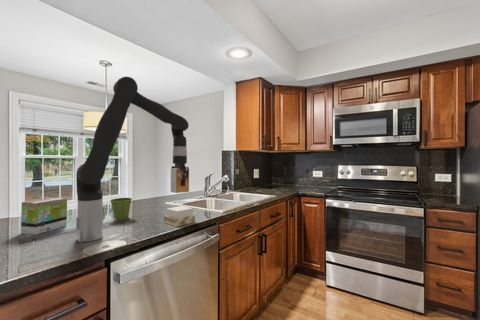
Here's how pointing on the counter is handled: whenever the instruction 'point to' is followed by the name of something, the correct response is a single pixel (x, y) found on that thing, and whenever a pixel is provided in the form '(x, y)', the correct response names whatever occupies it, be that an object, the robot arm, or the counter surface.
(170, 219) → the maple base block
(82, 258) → the counter surface
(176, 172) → the small box
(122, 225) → the counter surface
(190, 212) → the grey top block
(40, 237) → the counter surface
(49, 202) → the tea box
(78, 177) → the robot arm
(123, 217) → the plant pot
